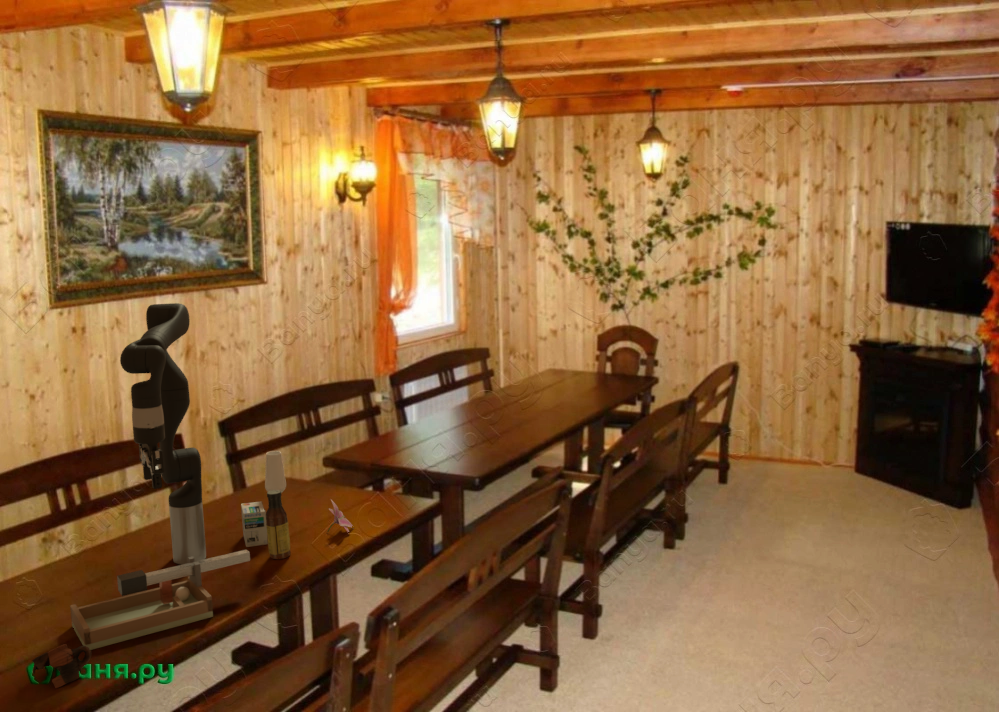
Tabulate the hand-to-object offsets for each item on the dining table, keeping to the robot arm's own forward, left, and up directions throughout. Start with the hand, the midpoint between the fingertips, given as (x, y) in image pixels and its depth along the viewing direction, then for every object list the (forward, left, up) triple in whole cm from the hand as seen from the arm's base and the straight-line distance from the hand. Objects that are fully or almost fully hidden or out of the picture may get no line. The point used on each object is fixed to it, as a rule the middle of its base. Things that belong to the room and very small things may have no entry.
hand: (153, 483), depth 237 cm
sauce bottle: (-10, +37, -32) cm, 50 cm away
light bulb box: (-27, +36, -32) cm, 55 cm away
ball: (+7, +3, -29) cm, 30 cm away
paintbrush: (+7, +5, -30) cm, 31 cm away
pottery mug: (+27, -29, -32) cm, 51 cm away
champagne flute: (-36, +47, -32) cm, 67 cm away
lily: (-17, +60, -32) cm, 70 cm away
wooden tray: (+10, -7, -32) cm, 34 cm away
